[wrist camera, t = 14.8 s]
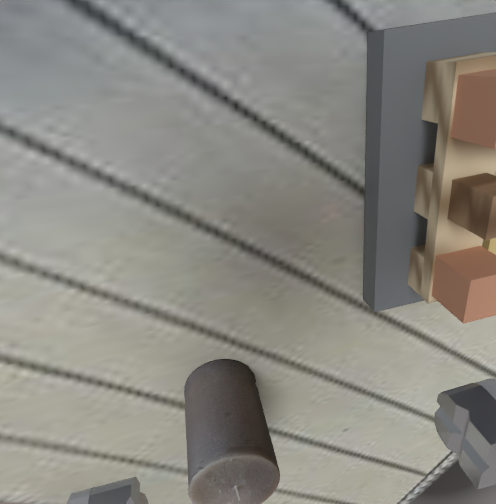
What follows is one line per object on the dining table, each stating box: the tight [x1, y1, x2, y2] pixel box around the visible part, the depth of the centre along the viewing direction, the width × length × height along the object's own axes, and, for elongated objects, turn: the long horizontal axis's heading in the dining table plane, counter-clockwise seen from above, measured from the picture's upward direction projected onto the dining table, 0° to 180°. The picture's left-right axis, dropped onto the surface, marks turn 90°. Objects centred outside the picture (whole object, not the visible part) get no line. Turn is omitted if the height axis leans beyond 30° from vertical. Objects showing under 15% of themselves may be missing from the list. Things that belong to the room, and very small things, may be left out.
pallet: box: [408, 52, 496, 303], centre depth 36 cm, size 24×6×9 cm, turn 8°
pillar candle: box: [184, 359, 280, 504], centre depth 44 cm, size 10×10×15 cm
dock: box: [363, 13, 496, 312], centre depth 40 cm, size 30×14×5 cm, turn 8°
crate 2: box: [432, 246, 496, 323], centre depth 38 cm, size 5×5×5 cm
